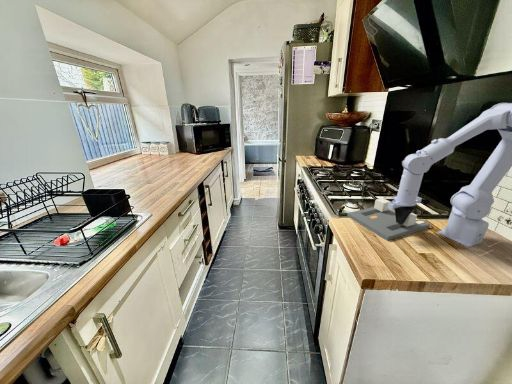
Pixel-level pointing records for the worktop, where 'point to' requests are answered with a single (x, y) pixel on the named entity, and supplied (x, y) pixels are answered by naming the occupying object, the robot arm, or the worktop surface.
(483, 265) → the worktop surface
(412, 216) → the white cube
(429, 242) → the worktop surface
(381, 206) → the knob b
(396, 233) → the switch unit
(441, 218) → the worktop surface
